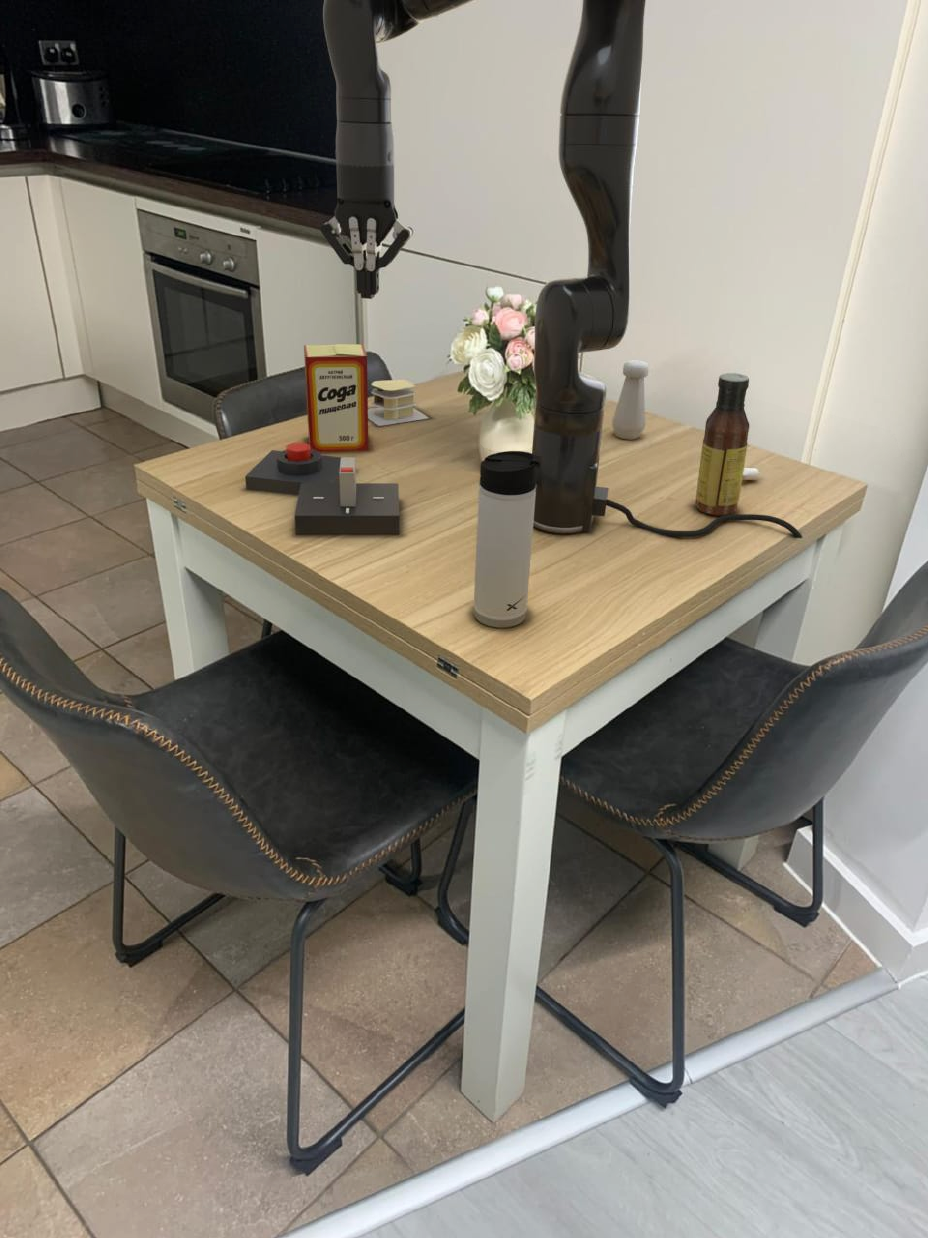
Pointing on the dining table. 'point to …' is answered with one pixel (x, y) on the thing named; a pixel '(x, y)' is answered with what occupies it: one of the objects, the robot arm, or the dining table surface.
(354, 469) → the grey block
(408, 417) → the stacked layers on plate
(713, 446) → the sauce bottle
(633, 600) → the dining table surface
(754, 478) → the small white plastic part
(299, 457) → the power button
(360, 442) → the baking soda box
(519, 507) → the travel mug
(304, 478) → the red button base
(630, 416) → the salt shaker
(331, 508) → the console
